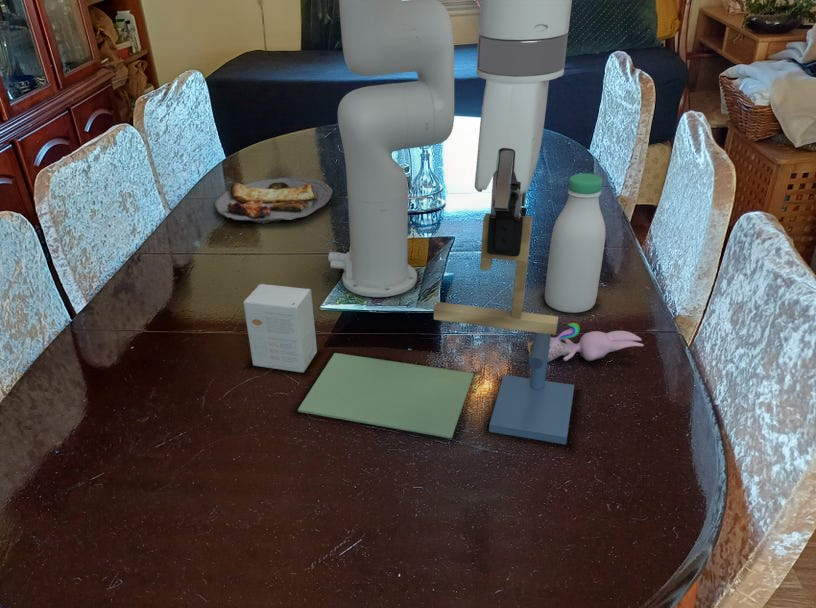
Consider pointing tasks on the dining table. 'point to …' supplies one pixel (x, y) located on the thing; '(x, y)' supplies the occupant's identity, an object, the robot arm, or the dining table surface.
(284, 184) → the food plate
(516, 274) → the hanger
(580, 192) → the milk bottle
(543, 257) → the dining table surface
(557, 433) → the rail stand
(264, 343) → the small box
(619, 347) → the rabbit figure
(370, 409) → the mat
